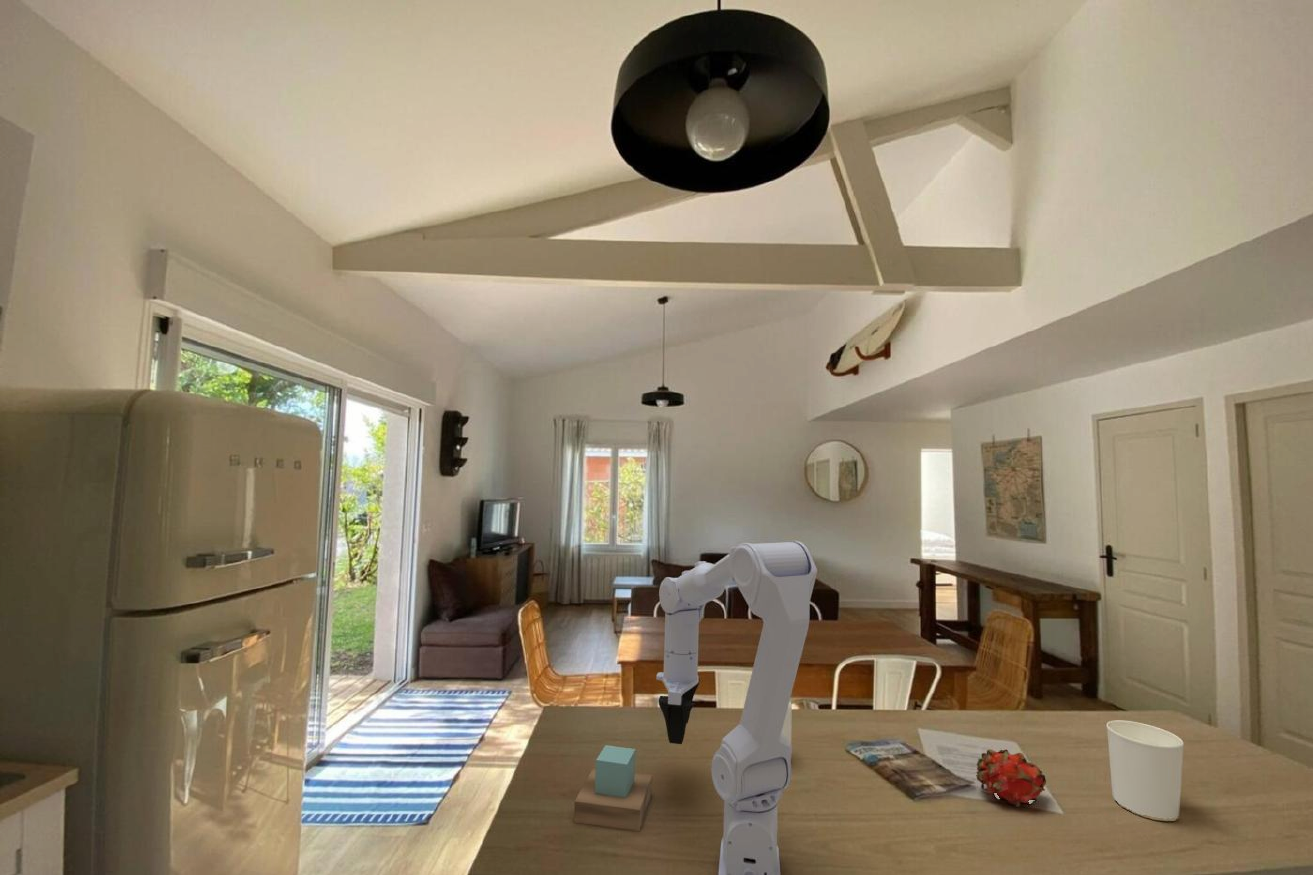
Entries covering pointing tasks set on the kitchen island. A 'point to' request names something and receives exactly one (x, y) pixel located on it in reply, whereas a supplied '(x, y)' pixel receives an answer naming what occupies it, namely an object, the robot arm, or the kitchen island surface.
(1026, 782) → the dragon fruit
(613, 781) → the teal cube
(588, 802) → the walnut block
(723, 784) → the robot arm
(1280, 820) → the kitchen island surface
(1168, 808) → the candle holder
